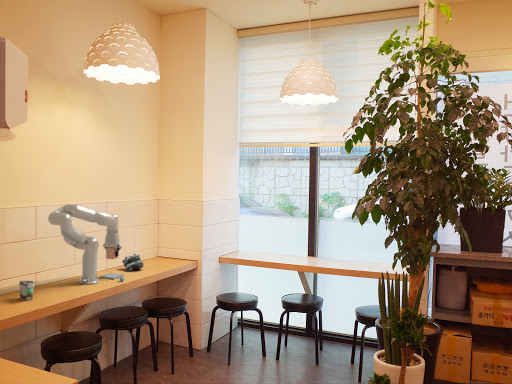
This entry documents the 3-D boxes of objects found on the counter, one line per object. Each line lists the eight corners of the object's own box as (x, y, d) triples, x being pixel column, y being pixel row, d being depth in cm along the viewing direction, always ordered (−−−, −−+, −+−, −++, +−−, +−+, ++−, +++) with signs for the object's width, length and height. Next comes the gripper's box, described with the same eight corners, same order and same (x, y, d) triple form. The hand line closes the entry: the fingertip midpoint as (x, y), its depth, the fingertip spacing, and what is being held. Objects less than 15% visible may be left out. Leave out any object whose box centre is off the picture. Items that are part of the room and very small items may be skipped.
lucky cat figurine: (124, 272, 358) (119, 255, 362) (126, 274, 369) (122, 258, 373) (143, 265, 361) (138, 249, 366) (145, 269, 373) (140, 252, 377)
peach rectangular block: (113, 259, 336) (113, 248, 336) (106, 258, 339) (106, 247, 338) (118, 257, 343) (118, 247, 342) (111, 257, 345) (111, 246, 344)
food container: (38, 299, 278) (38, 283, 277) (27, 301, 273) (27, 284, 273) (29, 295, 286) (29, 279, 286) (19, 297, 281) (19, 281, 281)
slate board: (114, 279, 333) (114, 277, 333) (99, 277, 337) (99, 276, 337) (123, 276, 345) (123, 274, 345) (110, 274, 349) (110, 273, 348)
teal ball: (122, 281, 327) (122, 277, 327) (118, 281, 328) (118, 276, 328) (125, 280, 330) (125, 276, 330) (121, 280, 331) (121, 276, 331)
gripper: (99, 231, 339) (99, 256, 340) (119, 233, 333) (119, 258, 334) (105, 230, 346) (105, 254, 347) (125, 231, 340) (125, 256, 341)
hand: (112, 256), depth 340 cm, fingers closed on peach rectangular block, 6 cm apart
